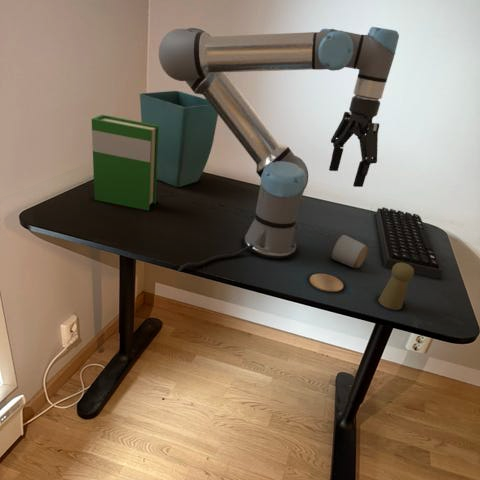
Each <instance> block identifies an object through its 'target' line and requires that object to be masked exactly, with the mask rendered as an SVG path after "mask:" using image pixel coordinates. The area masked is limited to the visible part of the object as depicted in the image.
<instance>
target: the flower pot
mask: <svg viewBox="0 0 480 480" xmlns="http://www.w3.org/2000/svg"><path fill="white" fill-rule="evenodd" d="M139 105H140V107H139V108H140V118H141V119H140V122H143V123H148V124H153V125H158V126H159V138H158V161H157V181H160V182H162V183H165V184H168V185H170V186H173V187H176V188H181V187H183V186H187V185H190V184H193V183H196V182H199V180H200V178H201V176H202V174H203V172H204V171H205V168H206V166H207V164H208V160H209V158H210V155H211V152H212V147H213V145H214V139H215V134H216V130H217V129H216V128H217V123H218V118H219V115H218V113H217V112H216V111H215V110H214V108H213V107H212V106H211V104H210V103H209V102H208V101H207V99H206V98H205V97H200V96H197V95H193V94H190V93H188V92H183V91H179V90H168V91H167V90H166V91H155V92H153V91H152V92H143V93H139Z"/></svg>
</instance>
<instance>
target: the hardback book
mask: <svg viewBox="0 0 480 480" xmlns="http://www.w3.org/2000/svg"><path fill="white" fill-rule="evenodd" d="M158 138H159V126H158V125H153V124H148V123H143V122H141V121H139V120H138V121H137V120H132V119H127V118H121V117H117V116H111V115H106V114H100V115H97V116H96V117H95V116H94V117H93V118H91V140H92V141H91V142H92V163H93V164H92V167H93V168H92V170H93V193H94V195H93V196H94V198H93V199H94V201H99V202H104V203H109V204H114V205H118V206H123V207H129V208H133V209H138V210H144V211H150V209H151V208H150V207H151V206H150V205H151V204H153V205H155V204H156V203H157V184H158V183H157V181H158V179H157V161H158Z"/></svg>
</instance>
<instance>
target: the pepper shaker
mask: <svg viewBox="0 0 480 480" xmlns="http://www.w3.org/2000/svg"><path fill="white" fill-rule="evenodd" d="M414 274H415V273H414V269H413V267H412V266H410V265H408V264H406V263H396V264H395V265H394V266H393V268H391V276H390V278H389V280H388V281H387V283H386V285H385V287H384V289H383V291H382V292H381V294H380V296H379V298H378V303H379V304H380V305H381V306H383V307H384V308H387V309H389V310H394V311H397V310H401V309H402V308H403V306H404V305H403V304H404V301H405V296H406V292H407V288H408V285H409V281H410V280H412V278H413V277H414Z"/></svg>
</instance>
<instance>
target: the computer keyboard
mask: <svg viewBox="0 0 480 480" xmlns="http://www.w3.org/2000/svg"><path fill="white" fill-rule="evenodd" d="M375 218H376V225H377V229H378V235H379V243H380V247H381V254H382V258H383V259H382V260H383V265H384V268H388V269H392V268H393V266H394V265H395V264H396V263H406V264H408V265H410V266H412V267H413V269H414V274H415V275H421V276H425V277H429V278H434V279H438V280H439V279H440V276H441V274H442V272H443V269H442V267H441V264H440V262H439V259H438V257H437V254H436V252H435V250H434V247H433V245H432V242H431V240H430V236H429V235H428V232H427V230H426V227H425V225H424V222H423V220H422V217H421V216H420V215H419V214H416V213H411V212H407V211H405V212H404V211H402V210H399V209H398V210H396V209H392V208H390V209H389V208H387V207H385V206H384V207H383V206H382V208H380V207H377V210H376V213H375Z"/></svg>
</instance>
